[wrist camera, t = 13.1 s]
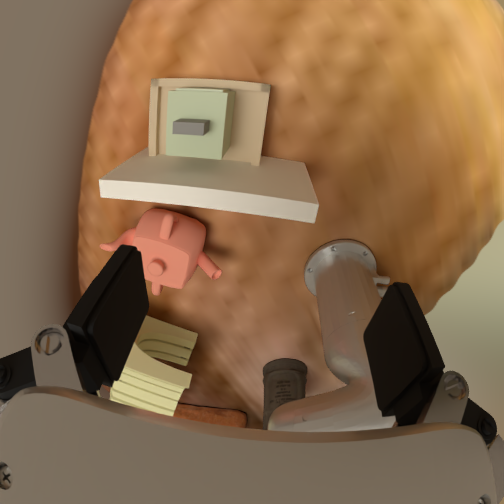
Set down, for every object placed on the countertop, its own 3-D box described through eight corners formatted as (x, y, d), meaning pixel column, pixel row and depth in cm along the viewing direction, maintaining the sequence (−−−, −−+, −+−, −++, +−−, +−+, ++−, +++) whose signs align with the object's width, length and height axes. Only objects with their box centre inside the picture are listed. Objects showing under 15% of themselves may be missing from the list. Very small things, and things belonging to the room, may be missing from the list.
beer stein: (255, 360, 63) (251, 440, 47) (299, 352, 60) (303, 436, 44) (275, 386, 71) (275, 453, 56) (314, 379, 69) (318, 448, 53)
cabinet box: (235, 89, 28) (223, 91, 22) (229, 146, 33) (217, 166, 26) (185, 86, 28) (159, 89, 21) (182, 143, 32) (157, 161, 26)
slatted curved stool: (132, 282, 52) (94, 353, 37) (208, 309, 54) (188, 388, 39) (127, 356, 68) (106, 411, 53) (181, 376, 70) (167, 432, 56)
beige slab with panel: (317, 92, 31) (342, 98, 20) (301, 175, 38) (314, 223, 26) (152, 78, 31) (95, 83, 19) (149, 158, 38) (100, 197, 26)
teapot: (199, 185, 40) (179, 216, 31) (230, 250, 46) (220, 292, 38) (125, 214, 43) (96, 248, 35) (158, 269, 49) (139, 309, 41)
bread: (167, 399, 81) (157, 439, 68) (247, 408, 80) (242, 451, 67) (176, 414, 89) (167, 450, 76) (247, 423, 88) (243, 461, 75)
